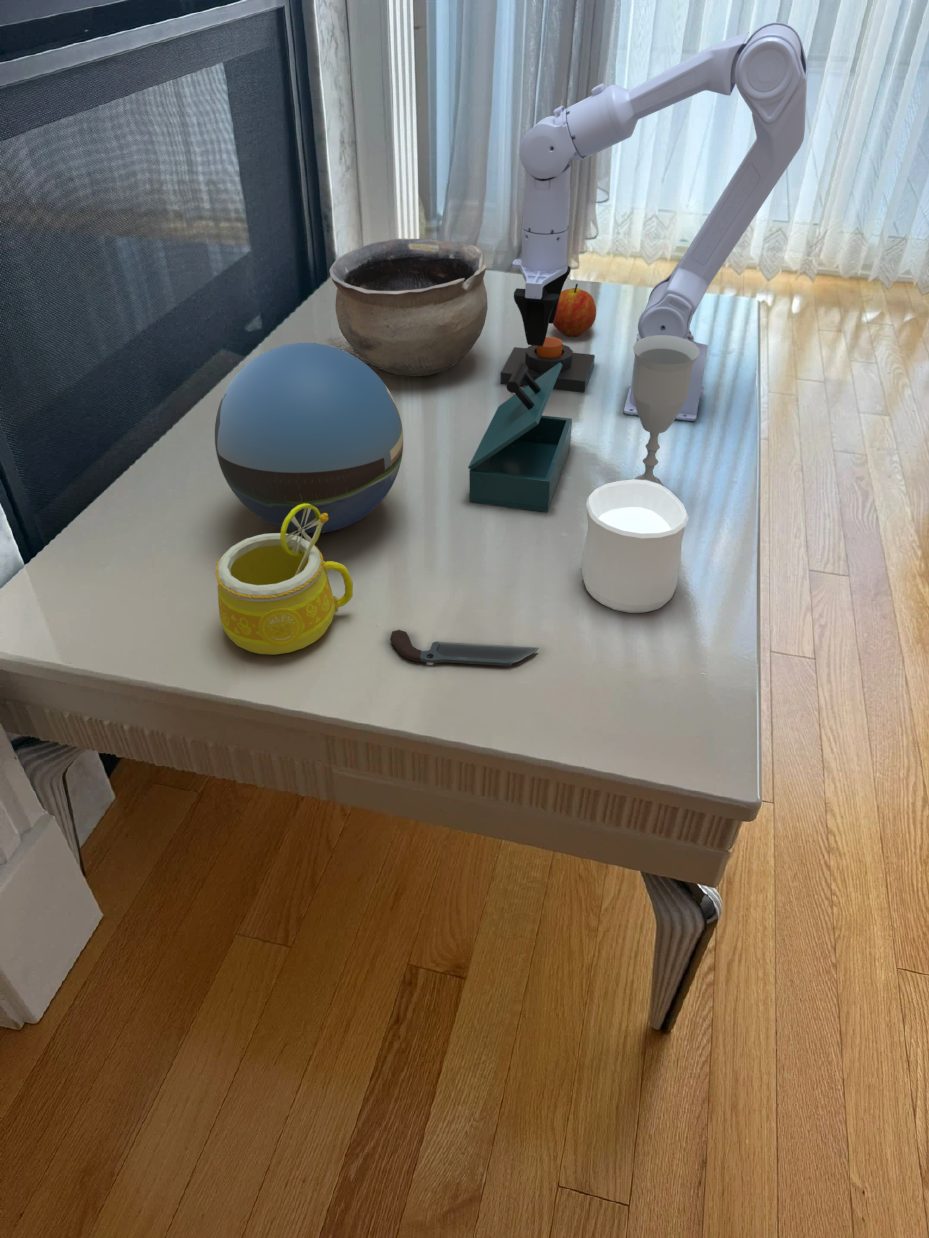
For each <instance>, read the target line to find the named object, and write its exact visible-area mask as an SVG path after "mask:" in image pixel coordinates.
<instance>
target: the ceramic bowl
mask: <svg viewBox="0 0 929 1238" xmlns="http://www.w3.org/2000/svg"><path fill="white" fill-rule="evenodd" d="M486 270H487V264H485V253H484V252H483V251H482V250H481V249H480V248H479V247H477V246H475V245H473V244H468V243H465V242H461V241H455V242H453V241H448V240H438V239H432V238H391V239H387V240H381V241H376V242H372V243H367V244H365V245H363V246H360V247H357V248H354V249H352V250H350V251H348V252H346V253H344V254H342V255H341V256H339V257H338V258H337V259H336V260H334V261H333V263H332V265H331V266H330V268H329V274H330V279H331V281H332V282H333V284H334V286H335V287H336V292H335V315H336V320H337V323H338V324H337V325H338V328H339V331H340V333H341V336H343V338H344V339H345V340H346V342H347V343H348V344H349V346H350V347H351V348H352V349H353V350H354V351H355V353H357V354H358V355H359V356H360V358H362V359H364V360H365V361H367V362H369V364H371V365H373V366H374V367H376V368H378V369H379V370H381V371H384V372H386V373H390V374H394V375H399V376H406V377H411V376H412V377H421V376H431V375H435V374H439V373H441V372H444V371H447V370H448V369H450V368H452V367H453V366H455V365H456V364H457V363H460V361H462V360H463V359H464V358H465V357H466V356H467V355H468V353H469V352H470V350H471V349H472V348H473V347H474V345H475V344H476V342H477V341H478V339H479V338H480V337H481V335H482V332H483V330H484V327H485V323H486V318H487V315H488V293H487V288H486V283H485V280H484V277H485V274H486Z"/></svg>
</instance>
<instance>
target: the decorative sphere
mask: <svg viewBox="0 0 929 1238" xmlns="http://www.w3.org/2000/svg"><path fill="white" fill-rule="evenodd" d="M214 423H215V424H214V447H215V452H216V453H215V454H216V457H217V462H218V463H219V468H220V470H221V473H222V475H223V478H224V480H225V481H226V483H227V485H228V486H229V488H230V489H231V491H232V492H233V495H235V496H236V498H237V499H238V500H239V502H241V504H243V505H244V507H246V508H247V510H249V511H250V512H251V513H253V514H254V515H255V516H257V517H259V518H260V519H262V521H264V522H267V523H269V524H271V525H273V526H275V527H277V528H280V529H281V528H282V524H283V522H284V520H285V518H286V517H287V515H288V514H289V513H290V511H291V510H292V509H293V508H295V507H296V506H298V505H301V504H304V503H306V504H310V505H312V506H314V507H316V508H317V509H318V510H319V512H320V514H323V513H327V514H328V518H329V519H328V521H326V522H325V523H324V524H323V526H322V528H321V532H320V534H321V533H322V534H323V533H329V532H333V531H337V530H341V529H344V528H347V527H350V526H351V525H353V524H355V523H357V522H359V521H360V520H363V518H365V517H366V516H368V515H369V514H370V513H372V511H374V510H375V509H376V508H377V507H378V506H379V505H380V504H381V503H382V501H384V499H385V497H386V496H387V495H388V493H389V492H390V491H391V489H392V487H393V485H394V483H395V481H396V479H397V476H398V474H399V471H400V467H401V463H402V460H403V453H404V452H403V451H404V431H403V424H402V419H401V415H400V412H399V408H398V406H397V404H396V402H395V399H394V397H393V395H392V392H390V390H389V388H388V387H387V385H386V383H384V381H383V380H382V379H381V377H380V376H379V375H378V374H377V373H376V372H375V371H374V370H373V369H372V368H371V367H370V366H369V365H368V364H367V363H365V362H364V361H362V360H361V359H360V358H358V357H356V356H355V355H353V354H351V353H349V352H347V351H345V350H343V349H341V348H338V347H334V346H331V345H327V344H322V343H316V342H295V343H289V344H284V345H281V346H276V347H274V348H271V349H269V350H267V351H265V352H263V353H260V354H259V355H258V356H256V357H254V358H253V359H252V360H250V361H249V362H248V363H247V364H245V365H244V366H243V367H242V368H241V369H240V370H239V371H238V372H237V374H236V375H235V376H234V377H233V378H232V379H231V381H230V383H229V384H228V385H227V388H226V389H225V390H224V393H223V395H222V396H221V400H220V403H219V405H218V409H217V412H216V417H215V422H214ZM307 511H308V508H307ZM307 511H306V514H305V516H304V519H303V522H302V525H301V521H302V517H303V513H304V508H303V509H301V510H300V511H298V512H297V513H296V514H295V518H296V520H297V521H298V523H299V525H300V526H301V528H302V527H304V525H307V524H308V523H310V522H311V521H312V520H314V519H315V518H316V515H315V513H314V511H313V509H311V510H310V513H309V516H308V519H307V521H306V524H305V520H306V516H307ZM313 524H314V523H313ZM311 525H312V524H311ZM311 525H308V526H306V527H304V528H302V529H306V528H308V527H309V526H311ZM316 526H317V525H315V526H313V527H311V528H308V529H306V530H305V533H306V534H315V531H316ZM298 527H299V526H298ZM298 527H297V526H296V525H295V524H294V523H293V522H292V521H290V522H289V524H288V527H287V530H286V531H290V532H295V531H297V530H298ZM302 529H301V531H302ZM301 531H297V532H296V533H299V532H301ZM305 533H304V534H305ZM300 534H302V532H301V533H300Z"/></svg>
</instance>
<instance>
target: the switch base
mask: <svg viewBox="0 0 929 1238" xmlns="http://www.w3.org/2000/svg"><path fill="white" fill-rule="evenodd" d="M536 352H537V346H535V345H528V347H519V346H518V347H517V346H513V349H512V351H511V353H510V354H509V357H508V358H507V360H506V362H505V363H504V365H503V368H502V370H501V371H500V384H502V385H507V383H508V381H509V379H510V377H511V375H512V373H513V371H514V369H515V367H516V365H517V364H518V363H524V364H526V366H527V368H528V370H527V372H528V374H529V375H530V376H531V377H532V378H533V380H534V381H535V380H536V379H537V378H539V377H540V376H542V375H543V374H544V373H546V372H547V371H548V370H550V369H551V368H553V367H554V366H555V365H557V364H558V363H561V364H562V368H561V370H560V373H559V375H558V377H557V380H556V382H555V385H554V387H553V390H558V391H569V392H579V393H585V392H586V389H587V387H588V383H589V381H590V378H591V375H592V372H593V369H594V367H595V357H596V355H595V354H593V353H581V352H580V353H579V352H574V351H573V350H572V348H571V347H570V346H569V345H566V344H563V343H562V355H561V356H559V357H552V358H548V357H541V356H538V355H537V354H536ZM526 386H528V384H527V383H526V382H525V381H524V380H523V381H522V383H521V385H520V387H526Z"/></svg>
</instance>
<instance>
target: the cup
mask: <svg viewBox="0 0 929 1238" xmlns="http://www.w3.org/2000/svg"><path fill="white" fill-rule="evenodd" d="M585 508H586V518H587V530H586V537H585V541H584V546H583V553H582V563H581V564H582V565H581V575H582V580H583V583H584V586H585V589H586V591H587V593H588V594H589V595H590V596H591V597H592V598H593V599H594V600H596V601H597V602H598V603H600V604H601V605H603V606H605V607H608V608H609V609H612V610H614V611H618V612H624V613H628V614H641V613H642V614H643V613H648V612H652V611H655V610H659V609H660V608H662V607H663V606H665V605H666V604H667V603H668V602H670V600H671V599H672V598H673V595H674V594H675V591H676V588H677V585H678V583H679V576H680V570H681V564H682V544H683V538H684V533H685V528H686V526H687V523H688V520H689V518H690V517H689V514H688V511H687V510H686V507H685V505H684V504H683V503H682V502H681V500H680V499H679V498H678V497H677V496H676V495H675V494H674V493H673V492H672V491H671V490H670V489H669V488H667V487H665V486H664V485H663V486H662V485H660V484H657V483H654V482H651V481H648V480H636V479H635V478H632V479H625V480H617V481H612V482H608V483H605V484H603V485H601V486H598V487H596V488H595V489H594V490H593V491H592V492H591V494H589V496H588V497H587V498H586V503H585Z"/></svg>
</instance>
